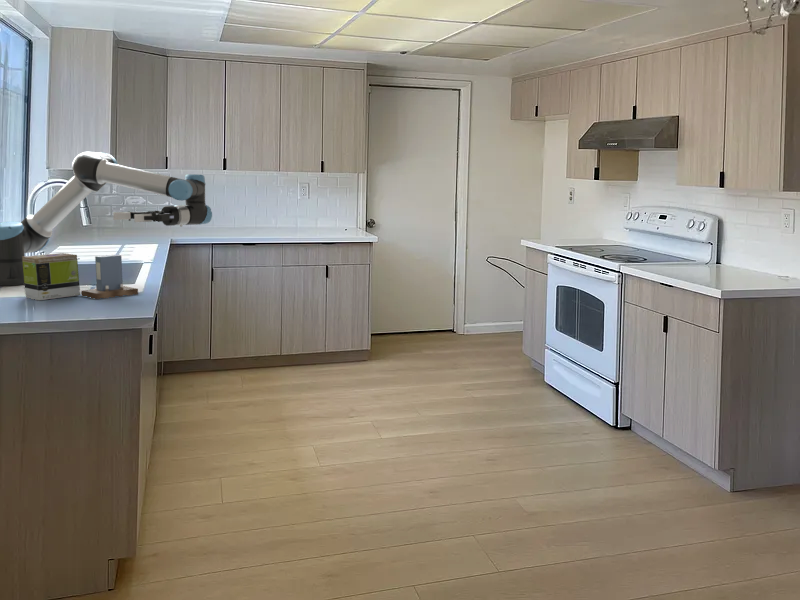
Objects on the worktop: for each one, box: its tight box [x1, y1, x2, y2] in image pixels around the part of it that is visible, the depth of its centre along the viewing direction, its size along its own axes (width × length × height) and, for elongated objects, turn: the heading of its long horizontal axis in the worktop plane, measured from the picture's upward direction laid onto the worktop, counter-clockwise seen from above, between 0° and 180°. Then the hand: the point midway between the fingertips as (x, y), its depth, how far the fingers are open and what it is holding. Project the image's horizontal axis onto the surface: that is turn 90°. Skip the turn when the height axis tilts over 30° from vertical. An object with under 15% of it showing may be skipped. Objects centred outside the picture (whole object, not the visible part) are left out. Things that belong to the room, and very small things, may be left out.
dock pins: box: [95, 283, 124, 292], centre depth 272 cm, size 7×7×2 cm
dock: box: [80, 285, 139, 300], centre depth 273 cm, size 16×10×2 cm, turn 141°
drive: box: [94, 254, 124, 291], centre depth 272 cm, size 8×4×12 cm, turn 141°
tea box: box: [22, 252, 81, 301], centre depth 266 cm, size 15×10×15 cm
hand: (124, 217), depth 276 cm, fingers open, 13 cm apart
